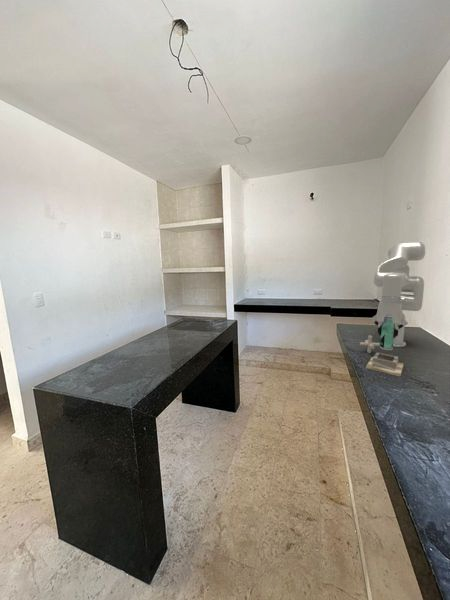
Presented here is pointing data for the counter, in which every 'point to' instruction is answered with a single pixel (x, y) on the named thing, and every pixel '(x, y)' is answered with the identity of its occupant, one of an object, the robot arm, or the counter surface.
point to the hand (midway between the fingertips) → (387, 335)
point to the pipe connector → (369, 344)
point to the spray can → (387, 333)
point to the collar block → (385, 364)
